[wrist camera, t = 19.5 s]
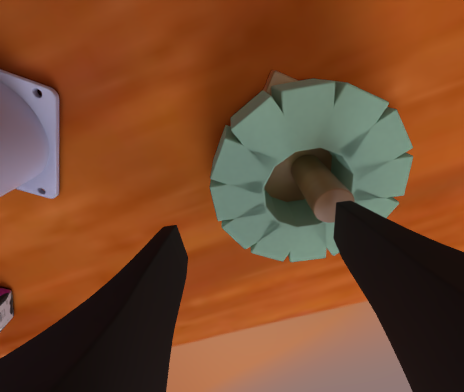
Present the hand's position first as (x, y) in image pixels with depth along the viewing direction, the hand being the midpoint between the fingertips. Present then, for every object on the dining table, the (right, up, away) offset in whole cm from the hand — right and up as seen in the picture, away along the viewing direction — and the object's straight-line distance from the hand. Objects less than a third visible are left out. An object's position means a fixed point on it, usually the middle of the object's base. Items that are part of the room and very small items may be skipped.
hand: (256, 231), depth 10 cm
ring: (+3, +3, +5) cm, 7 cm away
